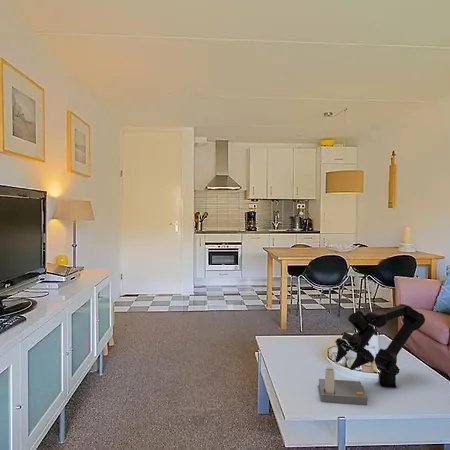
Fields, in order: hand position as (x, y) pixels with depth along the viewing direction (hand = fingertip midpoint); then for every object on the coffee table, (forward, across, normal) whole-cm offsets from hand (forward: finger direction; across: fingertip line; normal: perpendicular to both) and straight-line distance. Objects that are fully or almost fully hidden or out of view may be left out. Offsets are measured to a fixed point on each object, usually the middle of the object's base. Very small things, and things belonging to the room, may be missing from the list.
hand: (343, 365), depth 170 cm
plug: (+14, 0, +4) cm, 15 cm away
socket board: (+9, -1, +9) cm, 13 cm away
